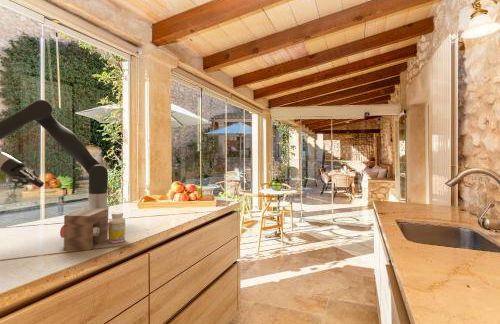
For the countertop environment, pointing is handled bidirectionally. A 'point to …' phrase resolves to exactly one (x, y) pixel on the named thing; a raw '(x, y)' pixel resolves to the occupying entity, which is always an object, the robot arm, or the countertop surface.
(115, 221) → the supplement bottle
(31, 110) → the robot arm
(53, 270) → the countertop surface
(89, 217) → the walnut block
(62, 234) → the red plug
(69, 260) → the countertop surface
